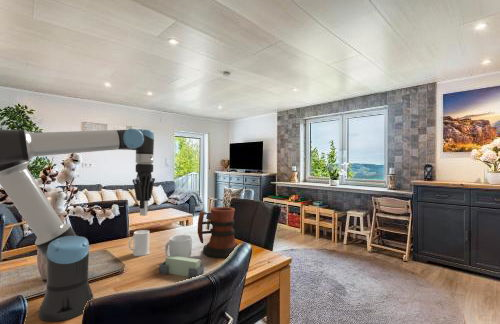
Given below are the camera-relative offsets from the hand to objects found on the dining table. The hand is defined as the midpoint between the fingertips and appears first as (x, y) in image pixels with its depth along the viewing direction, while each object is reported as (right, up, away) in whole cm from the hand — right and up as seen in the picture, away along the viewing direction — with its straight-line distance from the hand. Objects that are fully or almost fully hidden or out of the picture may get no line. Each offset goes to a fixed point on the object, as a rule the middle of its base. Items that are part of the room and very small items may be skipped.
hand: (143, 215), depth 118 cm
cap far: (+10, -27, +2) cm, 29 cm away
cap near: (+24, -27, -2) cm, 36 cm away
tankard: (+31, -28, +30) cm, 51 cm away
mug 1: (-13, -27, +24) cm, 38 cm away
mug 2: (+13, -27, +12) cm, 32 cm away
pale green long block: (+18, -27, 0) cm, 32 cm away
